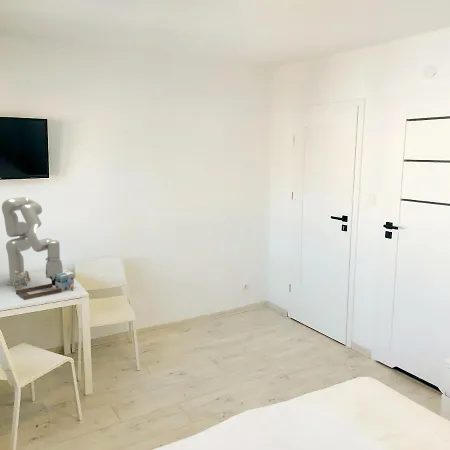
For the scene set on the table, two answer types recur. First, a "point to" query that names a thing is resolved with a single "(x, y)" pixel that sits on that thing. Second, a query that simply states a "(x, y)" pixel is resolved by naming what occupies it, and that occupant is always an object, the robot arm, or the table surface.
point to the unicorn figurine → (21, 276)
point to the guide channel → (39, 292)
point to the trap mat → (22, 295)
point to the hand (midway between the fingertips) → (54, 285)
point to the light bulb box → (64, 280)
